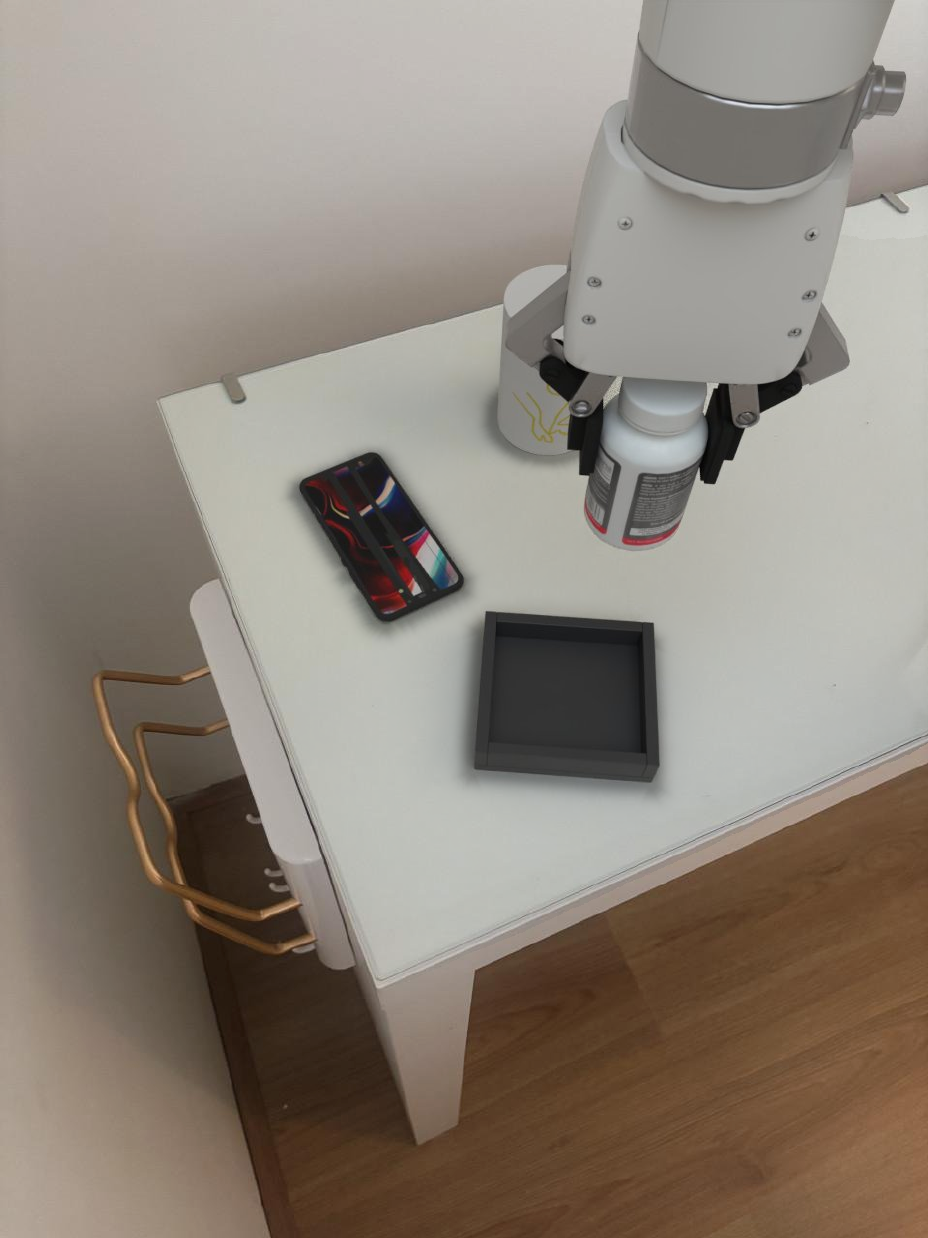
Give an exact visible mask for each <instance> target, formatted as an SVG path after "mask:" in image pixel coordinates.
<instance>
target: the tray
mask: <svg viewBox="0 0 928 1238" xmlns="http://www.w3.org/2000/svg"><path fill="white" fill-rule="evenodd" d="M483 627H484V628H483V641H482V652H481V666H480V680H479V694H478V705H477V721H476V733H475V747H474V764H473V769H474V770H480V771H494V772H505V773H506V772H507V773H520V774H533V775H545V776H546V775H547V776H558V777H559V776H560V777H572V778H573V777H574V778H586V779H600V780H615V781H627V782H639V783H640V782H641V783H653V780H654V778H655V776H656V774H657V772H658V770H659V769H660V765H661V763H660V741H659V740H660V738H659V716H658V715H659V714H658V689H657V666H656V641H655V639H656V638H655V623H654V622H650V621H649V622H648V621H636V620H635V621H634V620H623V619H622V620H619V619H605V618H591V617H579V616H576V617H575V616H565V615H564V616H563V615H562V616H560V615H548V614H534V613H522V612H521V613H519V612H504V611H490V610H486V611H485V613H484V626H483Z"/></svg>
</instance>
